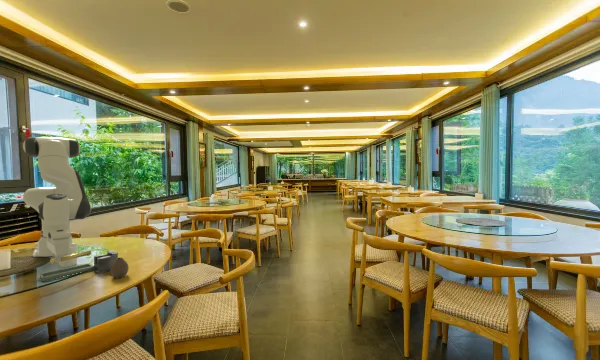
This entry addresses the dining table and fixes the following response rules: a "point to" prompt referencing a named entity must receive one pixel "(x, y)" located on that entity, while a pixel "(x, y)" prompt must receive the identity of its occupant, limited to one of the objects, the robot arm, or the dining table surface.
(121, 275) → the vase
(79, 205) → the robot arm
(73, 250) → the white cup
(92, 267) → the tray
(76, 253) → the hitch pin
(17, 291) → the dining table surface
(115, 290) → the dining table surface
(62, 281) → the dining table surface
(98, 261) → the hitch block
